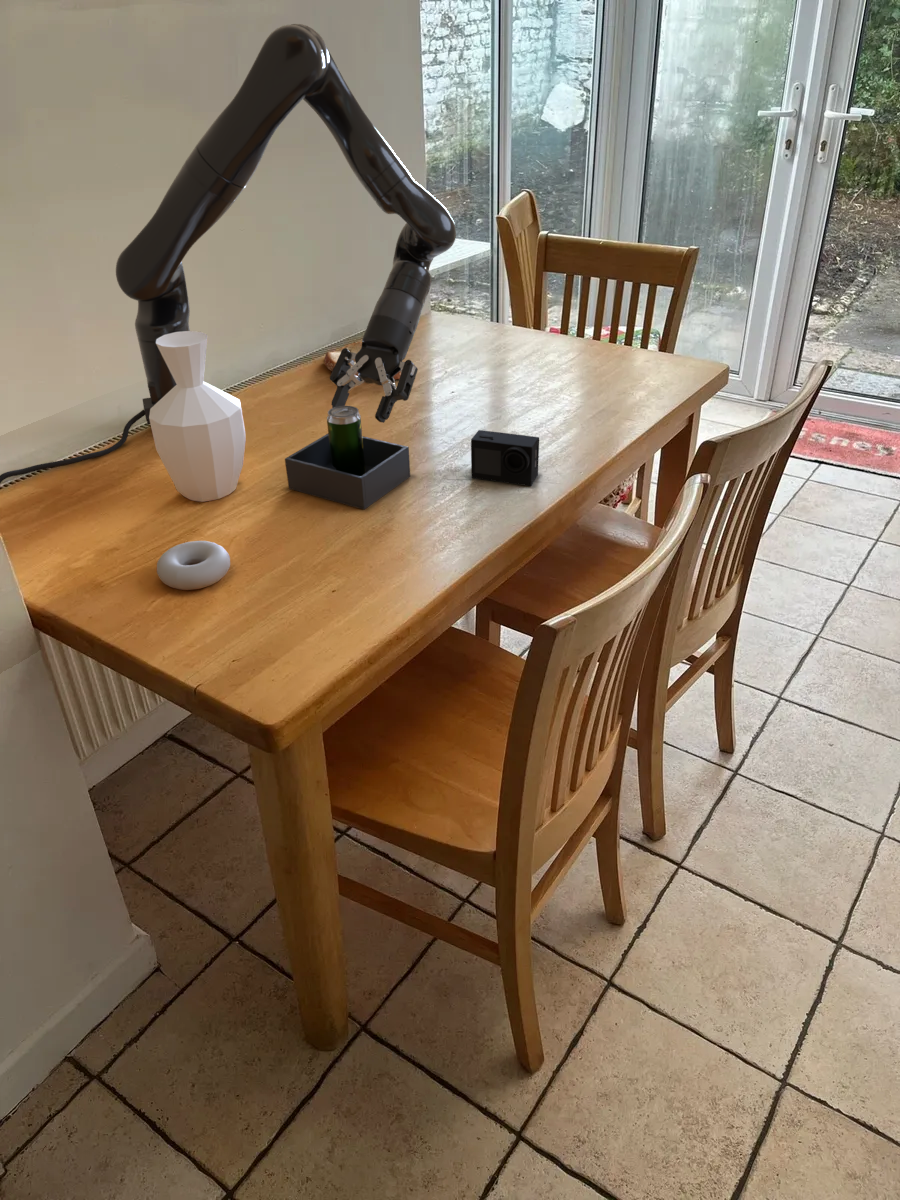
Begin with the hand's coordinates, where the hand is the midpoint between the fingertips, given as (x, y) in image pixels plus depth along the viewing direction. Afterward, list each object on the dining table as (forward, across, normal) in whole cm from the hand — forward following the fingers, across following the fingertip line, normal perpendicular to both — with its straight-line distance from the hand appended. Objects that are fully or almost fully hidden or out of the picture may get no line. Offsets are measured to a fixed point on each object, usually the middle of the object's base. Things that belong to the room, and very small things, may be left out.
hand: (357, 415), depth 144 cm
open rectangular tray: (+10, 0, +5) cm, 11 cm away
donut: (+34, -2, -19) cm, 39 cm away
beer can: (+10, 0, +5) cm, 11 cm away
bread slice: (-23, -30, +38) cm, 53 cm away
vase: (+19, -19, -4) cm, 27 cm away
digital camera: (+1, +22, +14) cm, 26 cm away
